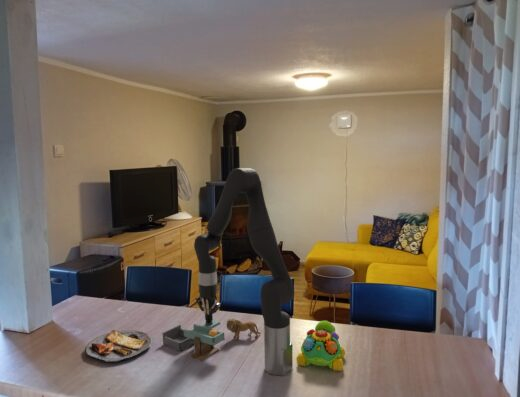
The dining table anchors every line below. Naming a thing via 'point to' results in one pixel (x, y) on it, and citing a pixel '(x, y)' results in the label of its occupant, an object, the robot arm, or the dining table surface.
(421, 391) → the dining table surface
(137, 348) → the food plate
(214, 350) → the fulcrum
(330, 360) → the turtle toy
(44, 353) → the dining table surface
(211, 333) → the ball
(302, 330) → the dining table surface
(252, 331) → the lion figurine
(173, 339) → the tray
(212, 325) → the lever
